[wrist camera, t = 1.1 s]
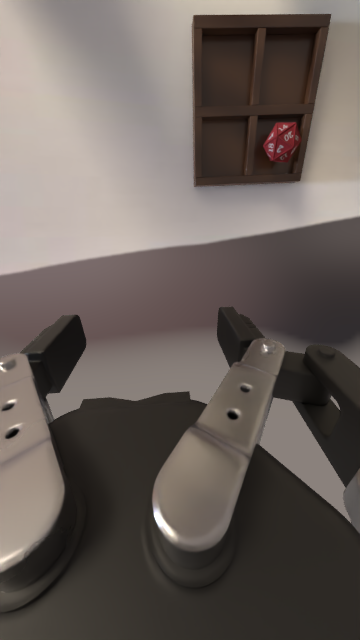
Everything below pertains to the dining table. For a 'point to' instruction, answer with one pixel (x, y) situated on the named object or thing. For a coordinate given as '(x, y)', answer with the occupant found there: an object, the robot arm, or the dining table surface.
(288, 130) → the dice
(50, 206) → the dining table surface
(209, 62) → the holder
